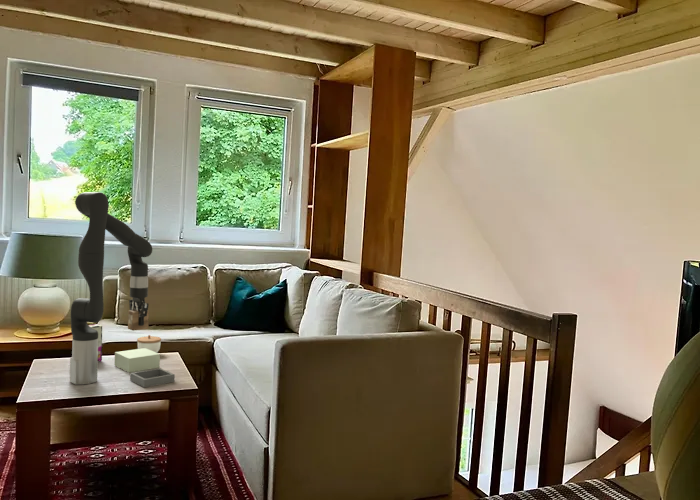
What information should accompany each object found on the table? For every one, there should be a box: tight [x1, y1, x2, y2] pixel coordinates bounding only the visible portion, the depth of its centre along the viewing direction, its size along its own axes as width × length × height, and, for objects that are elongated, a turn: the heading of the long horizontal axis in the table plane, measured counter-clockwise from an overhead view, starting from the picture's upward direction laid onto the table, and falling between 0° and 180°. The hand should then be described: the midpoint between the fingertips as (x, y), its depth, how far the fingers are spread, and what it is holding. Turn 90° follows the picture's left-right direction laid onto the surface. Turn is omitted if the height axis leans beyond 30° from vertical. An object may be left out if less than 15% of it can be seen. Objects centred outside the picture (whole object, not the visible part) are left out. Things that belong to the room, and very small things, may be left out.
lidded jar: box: [136, 334, 162, 353], centre depth 272 cm, size 11×11×9 cm
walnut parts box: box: [127, 309, 150, 332], centre depth 249 cm, size 5×7×8 cm
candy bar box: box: [88, 323, 103, 362], centre depth 253 cm, size 11×5×16 cm, turn 143°
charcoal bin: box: [129, 367, 175, 388], centre depth 230 cm, size 13×12×3 cm
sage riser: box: [114, 348, 161, 373], centre depth 250 cm, size 14×14×6 cm
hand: (138, 324), depth 250 cm, fingers closed on walnut parts box, 5 cm apart
